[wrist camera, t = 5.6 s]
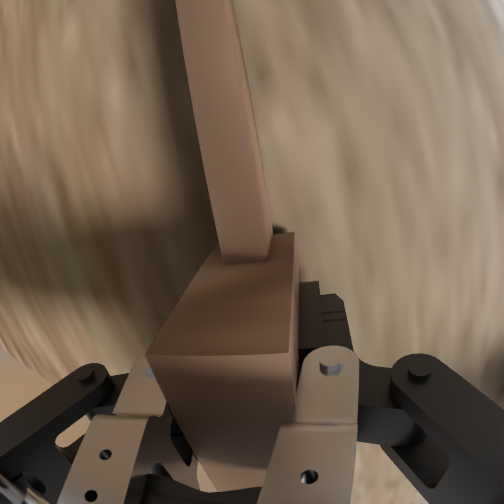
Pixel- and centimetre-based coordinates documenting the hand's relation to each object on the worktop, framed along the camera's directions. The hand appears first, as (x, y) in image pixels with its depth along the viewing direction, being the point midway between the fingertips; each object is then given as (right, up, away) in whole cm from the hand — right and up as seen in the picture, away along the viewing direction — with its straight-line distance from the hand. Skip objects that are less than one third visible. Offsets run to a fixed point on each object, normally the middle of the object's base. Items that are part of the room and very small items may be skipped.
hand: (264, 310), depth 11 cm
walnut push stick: (-1, +8, -3) cm, 9 cm away
